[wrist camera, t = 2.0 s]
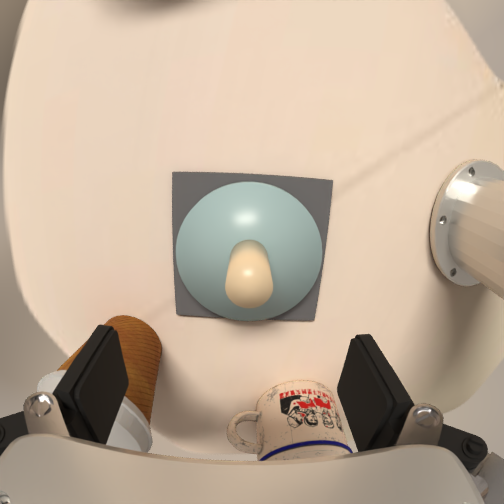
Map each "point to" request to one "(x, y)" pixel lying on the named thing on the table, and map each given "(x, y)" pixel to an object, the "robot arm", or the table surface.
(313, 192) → the mat
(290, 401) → the teacup with lid
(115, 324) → the disposable coffee cup
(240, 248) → the cover
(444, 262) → the robot arm
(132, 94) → the table surface
